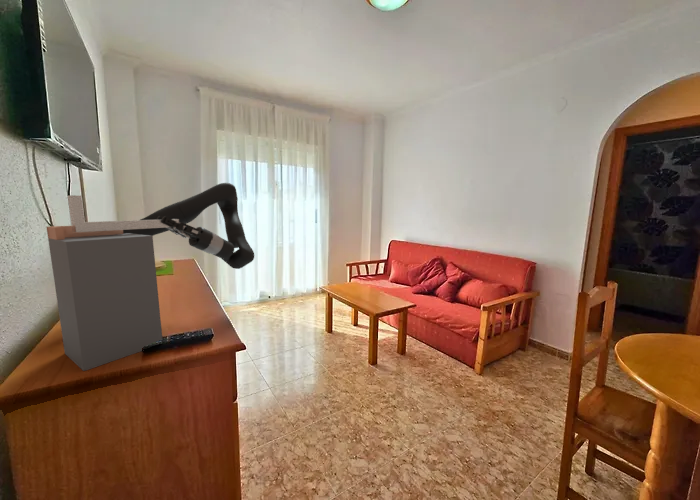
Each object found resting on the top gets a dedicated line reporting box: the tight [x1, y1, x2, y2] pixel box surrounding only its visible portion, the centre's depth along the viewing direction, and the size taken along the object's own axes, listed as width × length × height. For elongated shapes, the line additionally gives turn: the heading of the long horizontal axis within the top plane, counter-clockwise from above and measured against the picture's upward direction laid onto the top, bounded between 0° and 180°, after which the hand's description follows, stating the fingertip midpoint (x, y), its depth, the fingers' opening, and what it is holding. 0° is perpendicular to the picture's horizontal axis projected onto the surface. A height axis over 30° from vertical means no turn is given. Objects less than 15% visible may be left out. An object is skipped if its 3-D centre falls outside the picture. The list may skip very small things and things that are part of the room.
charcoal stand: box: [46, 225, 163, 372], centre depth 82 cm, size 16×18×35 cm
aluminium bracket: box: [67, 194, 179, 232], centre depth 88 cm, size 3×26×10 cm, turn 146°
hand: (160, 219), depth 95 cm, fingers closed on aluminium bracket, 3 cm apart
